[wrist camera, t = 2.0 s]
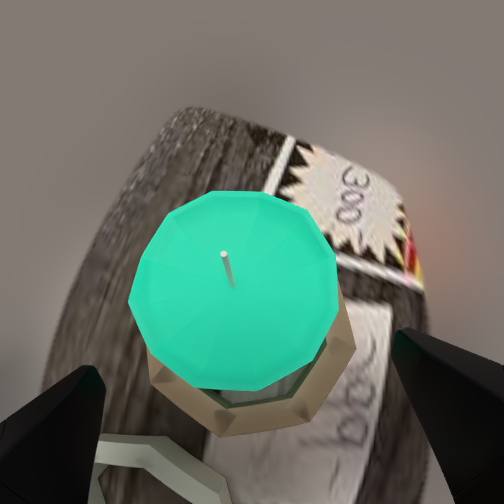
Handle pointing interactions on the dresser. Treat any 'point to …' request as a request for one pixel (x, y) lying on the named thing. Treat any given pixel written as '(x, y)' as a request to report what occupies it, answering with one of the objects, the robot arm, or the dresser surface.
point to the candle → (235, 290)
